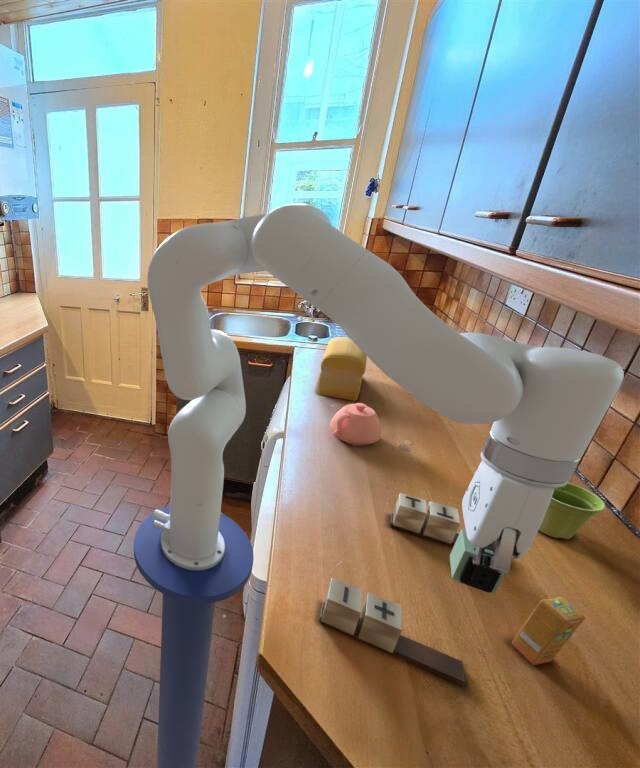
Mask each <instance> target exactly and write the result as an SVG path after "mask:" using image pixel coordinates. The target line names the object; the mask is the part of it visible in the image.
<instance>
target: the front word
mask: <svg viewBox="0 0 640 768" xmlns="http://www.w3.org/2000/svg"><path fill="white" fill-rule="evenodd" d="M363 596H364V590H363V589H361V588H359V587H356V586H353V585H351V584H348V583H347V582H344V581H342V580H339V579H337V578H333V577H331V578H330V581H329V585H328V589H327V593H326V597H325V600H324V601H323V602H322V604H321V609H320V613H319V617H318V622H320V623H321V624H324V625H325V626H328V627H330V628H333V629H334V630H337V631H339V632H342V633H343V634H346V635H348V636H350V637H352V638H354V639H357V640H359V641H361V642H364V643H366V644H368V645H370V646H372V647H374V648H377V649H379V650H381V651H383V652H386V653H388V654H389V655H392V656H394V657H396V658H399V659H401V660H403V661H405V662H407V663H409V664H411V665H414V666H417V667H418V668H420V669H423V670H425V671H427V672H429V673H432V674H434V675H436V676H438V677H440V678H443V679H445V680H447V681H449V682H451V683H453V684H455V685H458V686H459V687H463V686H464V684H465V681H466V680H465V674H464V665H463V661H462V660H460V659H458V658H456V657H452V656H451V655H448V654H447V653H443V652H441V651H439V650H436V649H434V648H431V647H430V646H428V645H425V644H423V643H421V642H418V641H415V640H414V639H411V638H409V637H406V636H404V635H401V634H402V631H403V606H402V605H401V604H399V603H396V602H393V601H391V600H388V599H386V598H384V597H381V596H379V595H376V594H374V593H371V592H369V591H368V592H367V593H366V596H365V600H364V601H363Z"/></svg>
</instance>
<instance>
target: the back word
mask: <svg viewBox="0 0 640 768" xmlns="http://www.w3.org/2000/svg"><path fill="white" fill-rule="evenodd" d="M389 519H390V520H389V527H391V528H394V529H396V530H400V531H403V532H406V533H409V534H412V535H415V536H418V537H421V538H425V539H428V540H430V541H434V542H437V543H440V544H443V545H446V546H449V547H452V548H453V547H454V545H455V543H456V540H457V538H458V536H459V533H457V532H458V530H459V527H460V525H461V521H460V515H459V510H458V508H456V507H451V506H448V505H445V504H441V503H438V502H434V501H432V500H430V501H429V503H428V504H427V500H426V499H423V498H420V497H417V496H413V495H409V494H406V493H403V492H399V494H398V497H397V500H396V503H395V505H394V509H393V511H392V513H391V514H390V518H389Z"/></svg>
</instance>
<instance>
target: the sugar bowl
mask: <svg viewBox="0 0 640 768" xmlns="http://www.w3.org/2000/svg"><path fill="white" fill-rule="evenodd" d="M381 424H382V423H381V422H380V419H379V417H378V415H377V412H376V411H375V410H374V409H373V408H372V407H369V406H367V405H366V404H365V403H362V402H355V403H349V404H346V405H344V406H343V407H342V408H340V409H339V410H338V411H336V413H335V414H334V415H333V417H332V418H331V420H330V424H329V428H330V430H331V432H332V436H333V437H334V438H338V439H340V440H341V441H343V442H345V443H348V444H350V445H351V446H354V447H357V446H368V445H372V444H374V443H376V442H377V441H379V440H380V438H381V436H382V425H381Z"/></svg>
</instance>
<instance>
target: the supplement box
mask: <svg viewBox="0 0 640 768" xmlns="http://www.w3.org/2000/svg"><path fill="white" fill-rule="evenodd" d="M585 620H586V616H584V615H583V613H581V611H579V610H578V609H577V608H576V607H574V606H573V605H572V604H571V603H569V602H568V601H567V600H566V599H565V598H563V597H562V596H557V597H556V598H551V599H541V600H540V601H539V602H538V603H537V604H536V606H535V608H534V609H533V610H532V612H531V614H530V615H529V616H528V618H527V619H526V620H525V622H524V624H523V625H522V626H521V628H520V629H519V631H518V632H517V634H516V635H515V636H514V638H513V640H512V642H511V645H512V646H513V647H514V648H515V649H516V650H517V651H518V652H519V653H520V654H521V655H522V656H523V657H524V658H525V659H526V660H527V661H528V662H529V663H530V664H531V665H533V666H537V665H540V664H546V663H550V662H552V661H553V660H554V659H555V657H556V656H557V655H558V653H559V652H560V651H561V650H562V649H563V647H564V646H565V644H566V643H567V642H568V641H569V640H570V639H571V637H572V636H573V635H574V633H575V632H576V631H577V629H578V628H579V627H580V625H581V624H582V623H583V622H584V621H585Z"/></svg>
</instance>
